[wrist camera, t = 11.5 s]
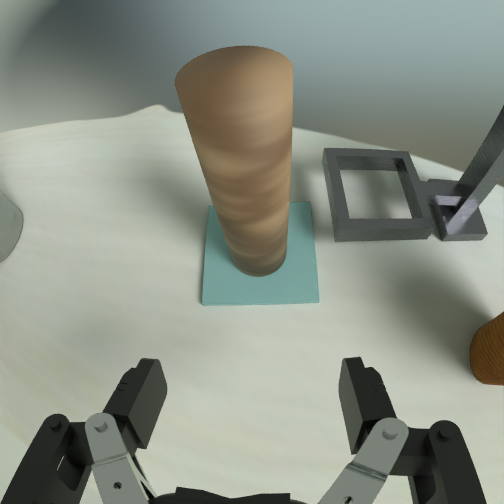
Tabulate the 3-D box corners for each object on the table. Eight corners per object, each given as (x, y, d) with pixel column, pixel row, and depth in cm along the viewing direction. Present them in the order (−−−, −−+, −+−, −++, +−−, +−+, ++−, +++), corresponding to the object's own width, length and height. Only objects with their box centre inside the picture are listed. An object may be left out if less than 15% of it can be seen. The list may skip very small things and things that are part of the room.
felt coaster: (203, 305, 26) (201, 303, 25) (209, 208, 30) (208, 206, 30) (318, 302, 25) (319, 300, 25) (309, 204, 29) (309, 201, 29)
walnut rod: (230, 277, 26) (163, 110, 10) (232, 227, 28) (185, 52, 12) (287, 275, 26) (299, 99, 10) (285, 225, 28) (287, 43, 12)
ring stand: (330, 254, 27) (372, 122, 13) (319, 177, 31) (335, 46, 17) (483, 248, 26) (565, 161, 12) (460, 182, 29) (515, 88, 16)
